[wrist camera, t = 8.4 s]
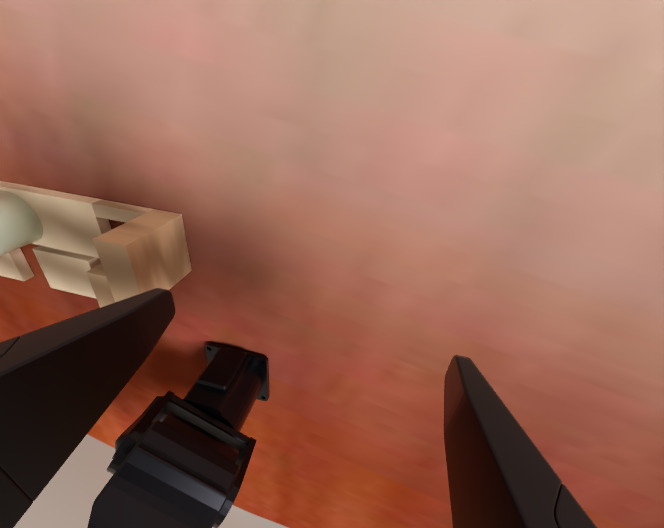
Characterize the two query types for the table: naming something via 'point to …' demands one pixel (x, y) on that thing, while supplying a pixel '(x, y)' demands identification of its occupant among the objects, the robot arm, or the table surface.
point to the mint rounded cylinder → (17, 223)
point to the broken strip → (61, 272)
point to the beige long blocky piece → (112, 237)
